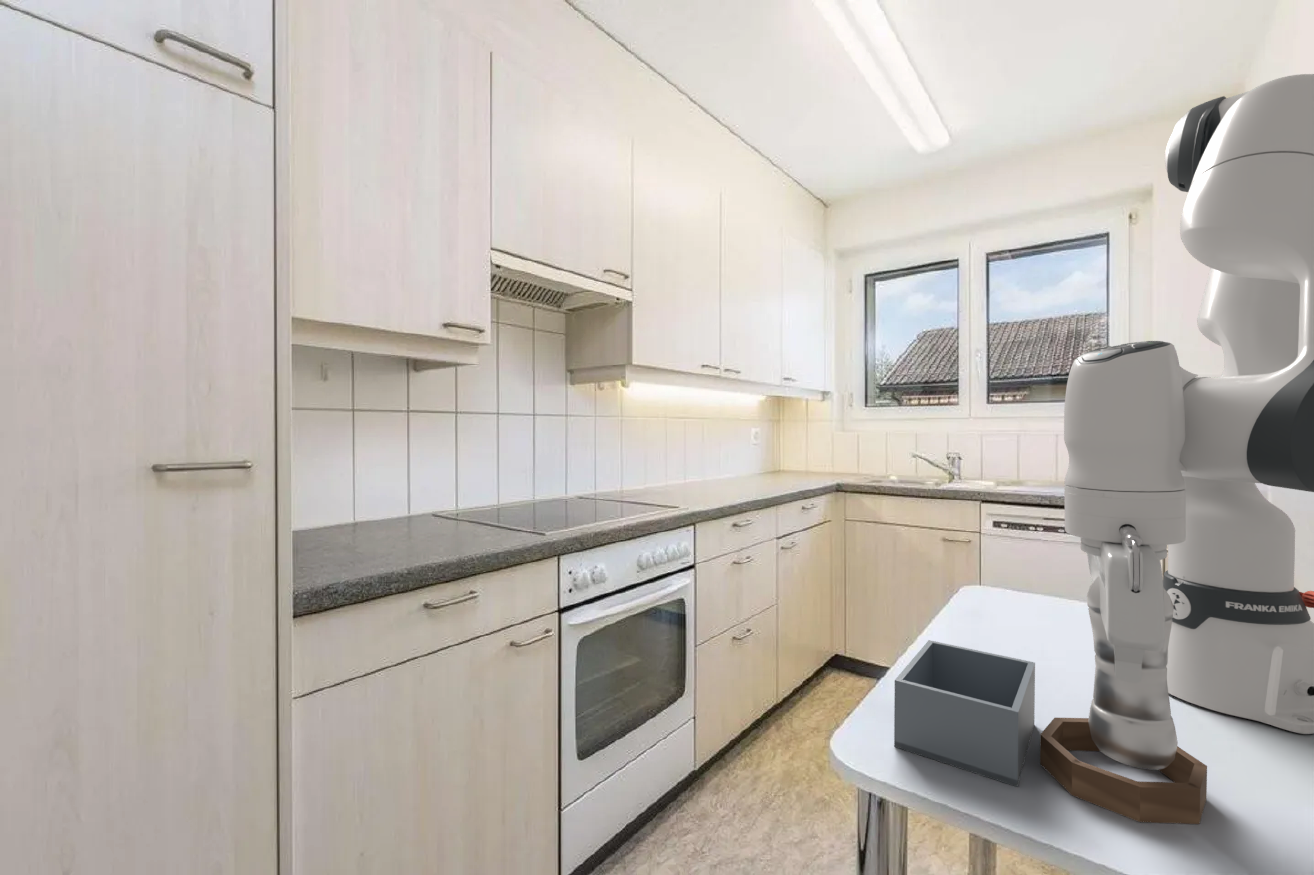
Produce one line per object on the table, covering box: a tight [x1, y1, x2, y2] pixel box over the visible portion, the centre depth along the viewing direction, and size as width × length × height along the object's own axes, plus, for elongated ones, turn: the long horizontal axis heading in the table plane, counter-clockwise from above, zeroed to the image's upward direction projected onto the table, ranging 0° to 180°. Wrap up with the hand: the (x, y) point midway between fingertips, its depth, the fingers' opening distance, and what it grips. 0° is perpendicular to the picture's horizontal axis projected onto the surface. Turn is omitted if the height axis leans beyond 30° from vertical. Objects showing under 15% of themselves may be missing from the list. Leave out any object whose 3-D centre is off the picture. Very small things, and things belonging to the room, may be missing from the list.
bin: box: [893, 639, 1036, 788], centre depth 63 cm, size 14×11×7 cm
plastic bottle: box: [1086, 576, 1179, 771], centre depth 55 cm, size 6×7×20 cm
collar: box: [1039, 717, 1208, 825], centre depth 55 cm, size 12×12×3 cm
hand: (1122, 663), depth 55 cm, fingers closed on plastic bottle, 6 cm apart
